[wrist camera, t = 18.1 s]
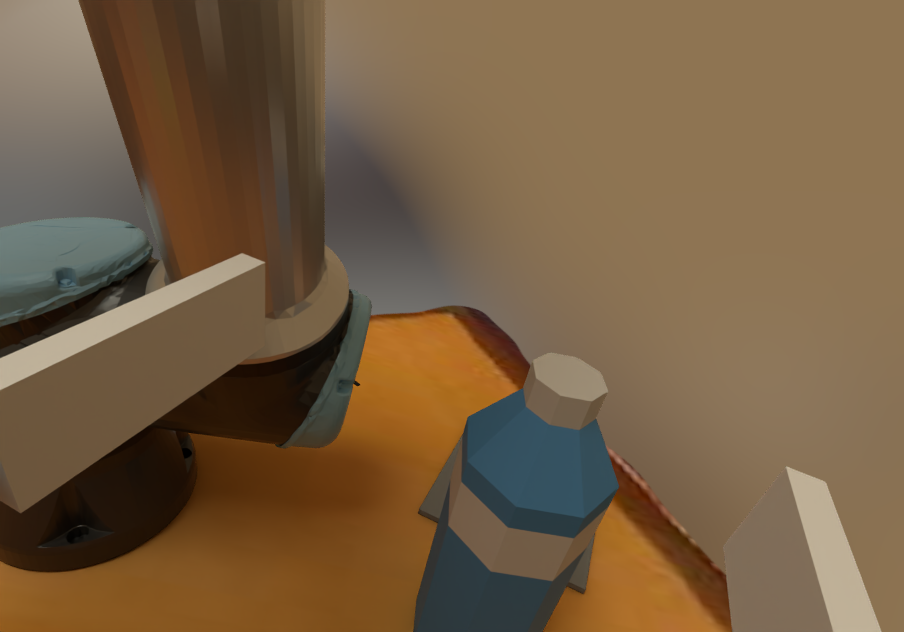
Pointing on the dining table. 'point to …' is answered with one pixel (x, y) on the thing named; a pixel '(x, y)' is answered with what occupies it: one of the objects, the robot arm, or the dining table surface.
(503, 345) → the dining table surface
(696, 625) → the dining table surface
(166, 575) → the dining table surface
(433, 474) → the dining table surface
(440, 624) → the water bottle
